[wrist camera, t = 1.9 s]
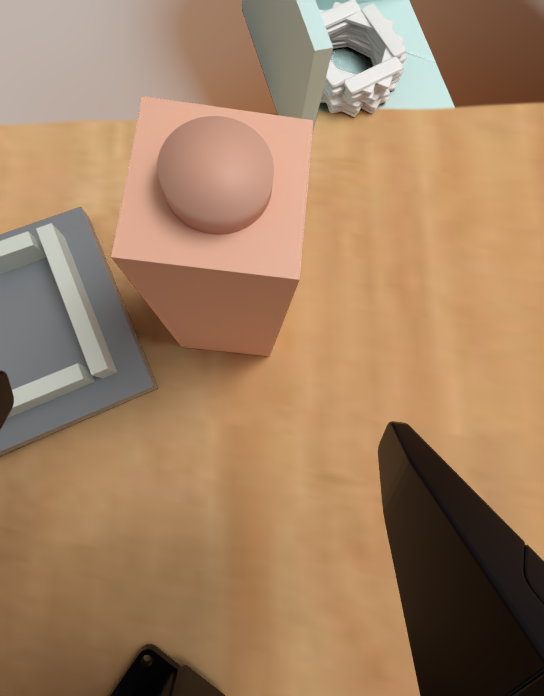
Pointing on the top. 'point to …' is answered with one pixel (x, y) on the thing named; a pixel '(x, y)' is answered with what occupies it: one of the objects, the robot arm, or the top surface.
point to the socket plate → (63, 330)
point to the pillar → (215, 221)
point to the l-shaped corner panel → (344, 56)
